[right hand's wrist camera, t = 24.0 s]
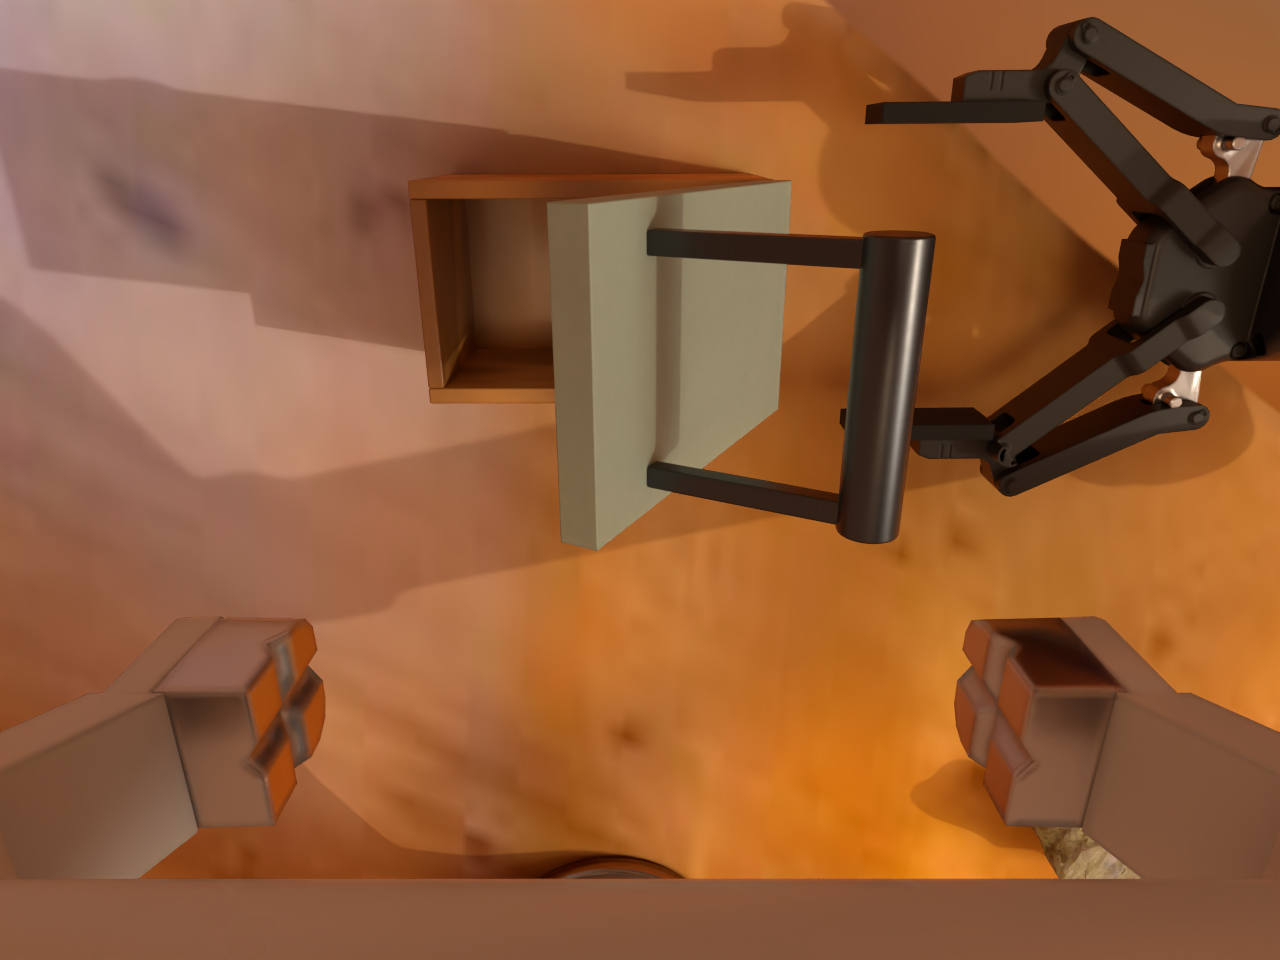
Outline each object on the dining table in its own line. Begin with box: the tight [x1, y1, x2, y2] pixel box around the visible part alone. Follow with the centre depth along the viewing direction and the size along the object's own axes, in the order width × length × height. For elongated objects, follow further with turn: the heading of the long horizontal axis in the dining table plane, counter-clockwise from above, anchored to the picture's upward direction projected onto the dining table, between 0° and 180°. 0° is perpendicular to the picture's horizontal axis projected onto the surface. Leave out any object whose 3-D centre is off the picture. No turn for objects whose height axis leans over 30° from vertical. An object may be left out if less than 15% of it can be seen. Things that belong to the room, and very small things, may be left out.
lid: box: [547, 180, 936, 551], centre depth 27 cm, size 16×9×9 cm
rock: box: [1032, 826, 1142, 879], centre depth 55 cm, size 11×6×10 cm
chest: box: [408, 173, 772, 403], centre depth 39 cm, size 15×9×9 cm, turn 90°
